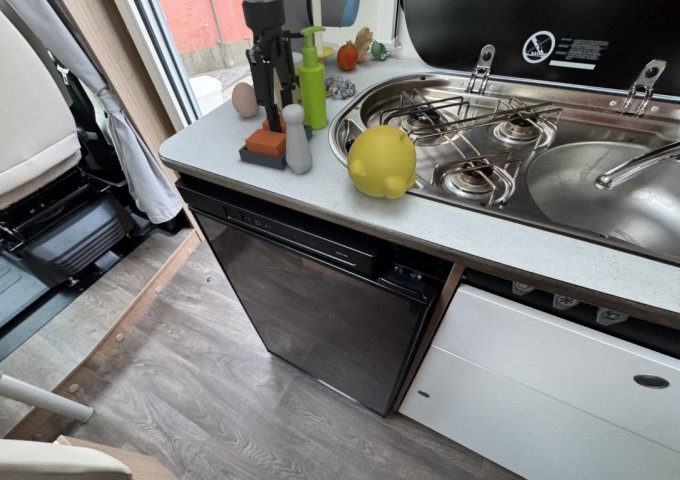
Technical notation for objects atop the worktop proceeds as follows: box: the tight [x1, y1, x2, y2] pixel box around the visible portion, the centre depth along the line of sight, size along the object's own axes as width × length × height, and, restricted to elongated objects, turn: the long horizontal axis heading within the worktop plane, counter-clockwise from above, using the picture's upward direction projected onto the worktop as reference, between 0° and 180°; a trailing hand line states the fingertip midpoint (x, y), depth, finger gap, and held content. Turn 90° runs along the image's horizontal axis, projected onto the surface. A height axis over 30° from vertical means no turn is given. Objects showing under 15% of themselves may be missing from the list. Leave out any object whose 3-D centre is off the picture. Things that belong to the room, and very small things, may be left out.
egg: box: [231, 81, 260, 118], centre depth 79 cm, size 7×7×8 cm
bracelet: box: [324, 75, 357, 98], centre depth 87 cm, size 10×10×2 cm
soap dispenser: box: [298, 26, 328, 130], centre depth 70 cm, size 6×7×20 cm
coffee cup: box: [267, 52, 303, 112], centre depth 80 cm, size 9×9×12 cm
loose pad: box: [261, 113, 304, 134], centre depth 71 cm, size 6×8×4 cm
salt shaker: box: [281, 104, 313, 174], centre depth 61 cm, size 6×6×13 cm
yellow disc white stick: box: [312, 0, 339, 98], centre depth 79 cm, size 10×10×27 cm
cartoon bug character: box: [346, 25, 392, 62], centre depth 101 cm, size 10×18×15 cm
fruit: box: [336, 40, 359, 72], centre depth 96 cm, size 7×7×8 cm
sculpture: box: [346, 124, 418, 200], centre depth 55 cm, size 15×13×13 cm
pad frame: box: [238, 123, 313, 171], centre depth 70 cm, size 16×11×3 cm
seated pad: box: [244, 128, 286, 157], centre depth 67 cm, size 6×8×4 cm
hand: (283, 126), depth 71 cm, fingers open, 6 cm apart
